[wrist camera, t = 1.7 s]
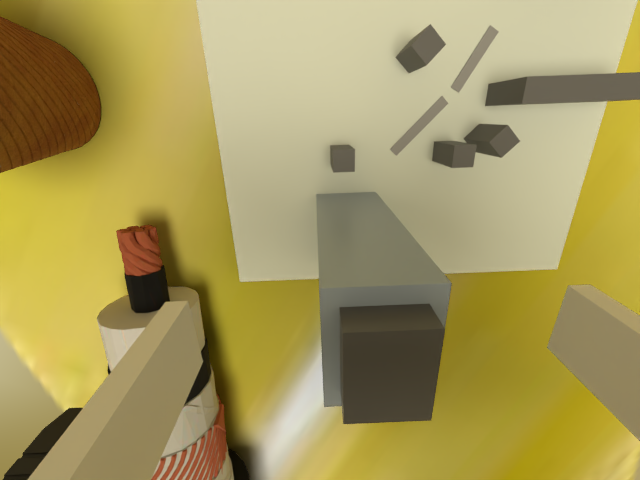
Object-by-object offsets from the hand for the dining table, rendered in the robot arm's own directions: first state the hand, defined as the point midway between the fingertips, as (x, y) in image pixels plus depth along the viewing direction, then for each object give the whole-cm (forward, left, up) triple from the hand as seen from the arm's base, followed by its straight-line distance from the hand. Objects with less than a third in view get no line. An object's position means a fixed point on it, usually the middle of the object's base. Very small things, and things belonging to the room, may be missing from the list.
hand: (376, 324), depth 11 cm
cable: (-16, +14, -12) cm, 25 cm away
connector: (0, 0, -11) cm, 11 cm away
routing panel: (+6, -4, -12) cm, 14 cm away
